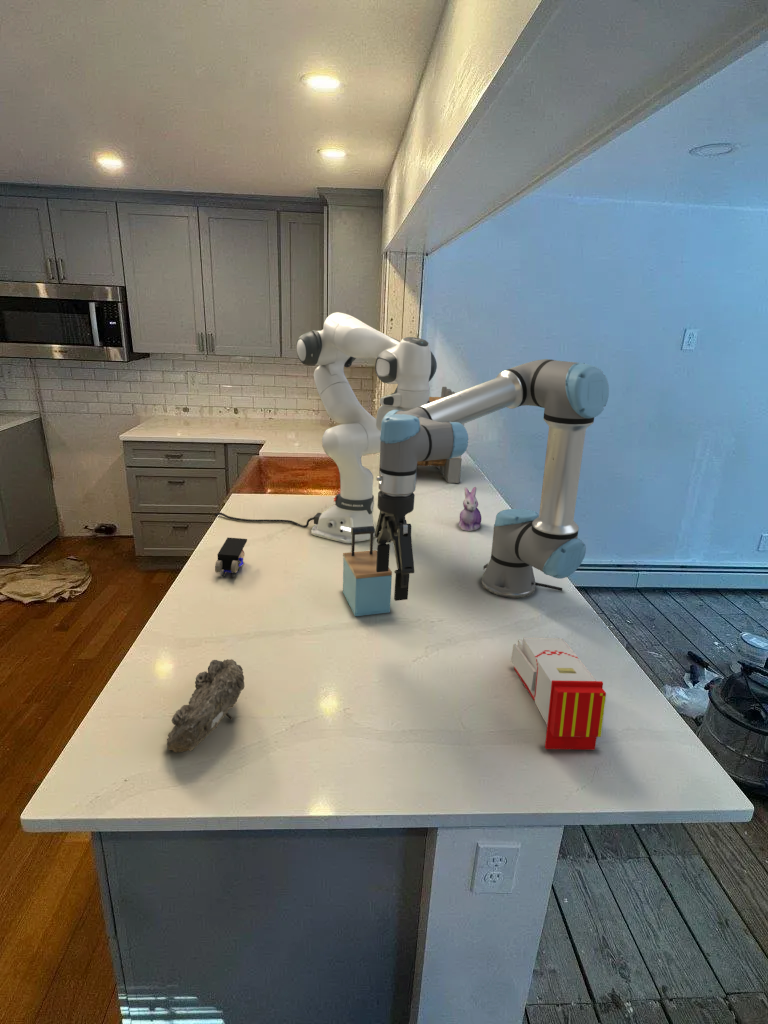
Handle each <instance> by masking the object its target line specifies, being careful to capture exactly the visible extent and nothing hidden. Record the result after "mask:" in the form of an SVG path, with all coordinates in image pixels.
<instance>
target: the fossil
mask: <svg viewBox="0 0 768 1024" xmlns="http://www.w3.org/2000/svg"><path fill="white" fill-rule="evenodd" d="M243 670H244V669H243V667H242V665H240V664H237V662H236V661H235V660H234V659H232V658H231V659H227V658H226V659H224V660H223V661H222V660H217V659H212V660H211V661H210V663H209V665H208V666H207V671H201V672H199V673H198V674H197V675H196V676H195V680H194V684H195V685H194V687H195V689H194V690H193V693H192V694H191V697H190V698H189V700H188V704H184V705H182V706H181V707H180V709H177V710H176V711H175V713H174V715H173V716H172V718H171V723H172V724H173V727H172V730H171V731H170V732H168V734H167V738H166V741H167V742H166V745H167V749H168V750H169V751H173V752H174V753H176V754H178V753H182V752H188V751H189V752H192V751H193V750H195V748H196V747H197V746H199V744H200V743H201V742H203V741H204V740H205V739H206V738H207V737H208V736H209V735H210V734H211V733H212V732H214V730H215V729H217V727H218V726H219V724H220V722H221V721H222V720H223V719H224V718H225V716H226V717H227V719H229V720H233V717H232V715H230V714H229V710H230V709H231V708H234V706H235V704H236V703H237V702H238V699H239V697H240V695H241V693H242V691H243V690H245V689H244V688H245V675H244V671H243Z"/></svg>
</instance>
